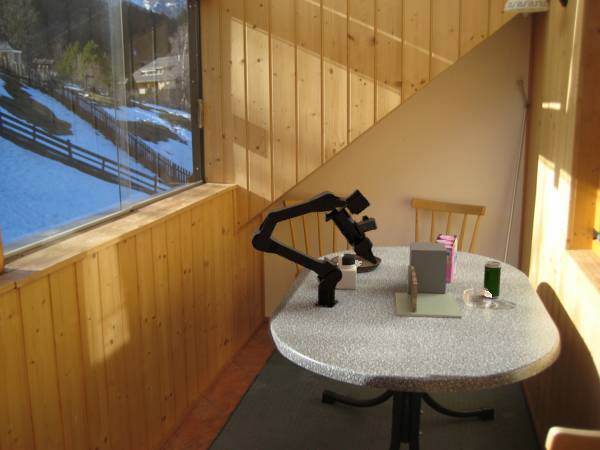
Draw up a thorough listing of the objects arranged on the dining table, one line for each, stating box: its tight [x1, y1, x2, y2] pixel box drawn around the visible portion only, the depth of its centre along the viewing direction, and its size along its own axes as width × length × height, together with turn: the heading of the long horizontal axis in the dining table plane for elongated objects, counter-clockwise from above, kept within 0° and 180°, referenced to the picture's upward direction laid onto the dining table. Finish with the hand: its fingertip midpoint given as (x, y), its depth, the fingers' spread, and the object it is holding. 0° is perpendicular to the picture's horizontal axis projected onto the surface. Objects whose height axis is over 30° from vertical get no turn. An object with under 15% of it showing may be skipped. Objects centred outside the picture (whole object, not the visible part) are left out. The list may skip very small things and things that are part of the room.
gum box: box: [433, 233, 458, 284], centre depth 246 cm, size 24×8×14 cm, turn 161°
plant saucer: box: [330, 253, 382, 273], centre depth 257 cm, size 21×21×3 cm
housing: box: [395, 241, 463, 319], centre depth 214 cm, size 34×20×16 cm, turn 172°
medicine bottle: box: [335, 253, 358, 290], centre depth 230 cm, size 7×7×12 cm
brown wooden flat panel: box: [410, 269, 417, 311], centre depth 209 cm, size 18×1×9 cm, turn 172°
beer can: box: [482, 260, 502, 300], centre depth 218 cm, size 5×5×12 cm
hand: (373, 260), depth 211 cm, fingers open, 9 cm apart
